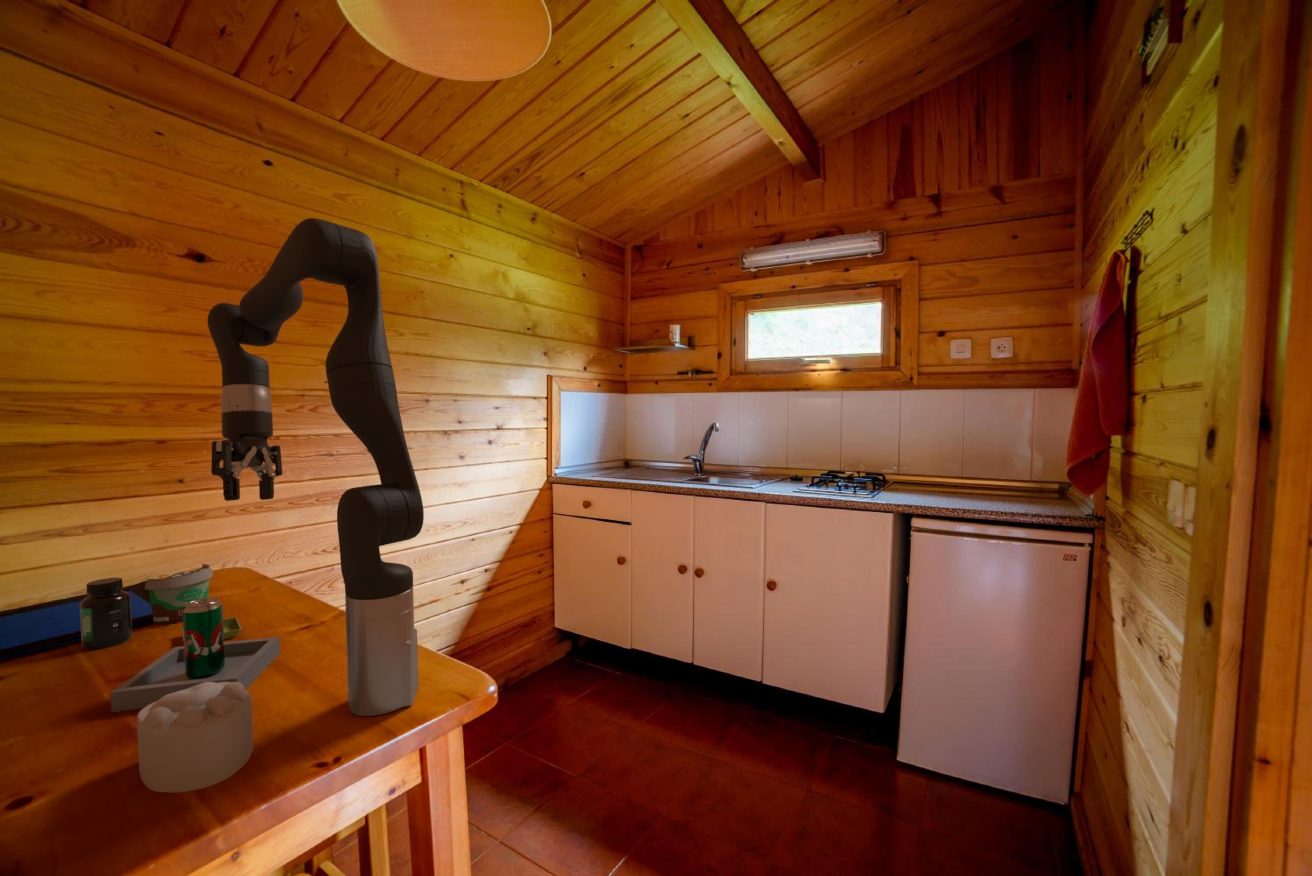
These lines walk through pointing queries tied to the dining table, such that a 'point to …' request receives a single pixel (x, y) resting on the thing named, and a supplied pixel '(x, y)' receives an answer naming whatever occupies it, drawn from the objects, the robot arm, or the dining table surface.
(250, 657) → the tray
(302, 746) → the dining table surface
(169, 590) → the food container
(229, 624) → the green square dish
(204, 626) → the soda can
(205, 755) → the lumpy-topped squat cylinder
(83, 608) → the supplement bottle
